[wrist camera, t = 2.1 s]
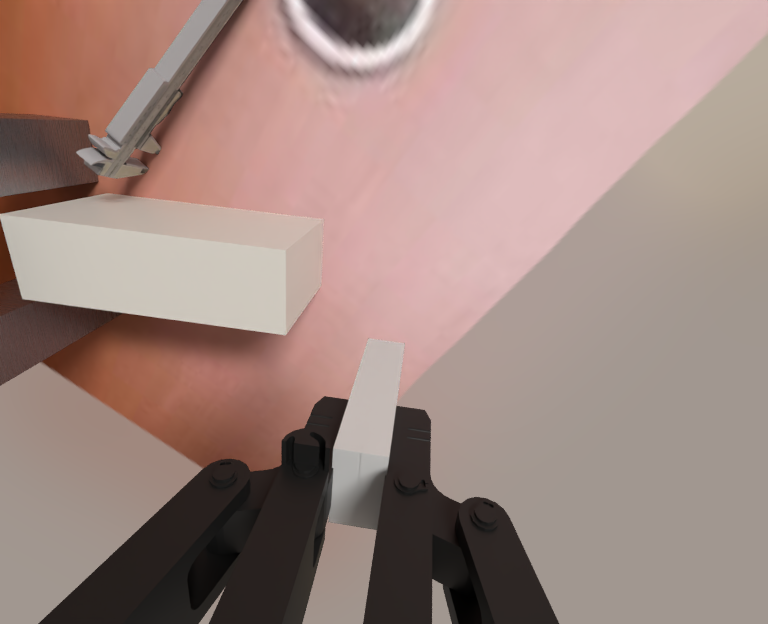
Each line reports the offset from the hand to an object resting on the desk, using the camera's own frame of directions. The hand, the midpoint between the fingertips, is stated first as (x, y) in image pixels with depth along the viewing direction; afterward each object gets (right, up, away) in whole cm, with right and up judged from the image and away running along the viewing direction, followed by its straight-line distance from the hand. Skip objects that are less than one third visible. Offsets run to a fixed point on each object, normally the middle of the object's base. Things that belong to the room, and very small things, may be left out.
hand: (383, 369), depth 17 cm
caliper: (-10, +19, +9) cm, 24 cm away
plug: (-12, +8, +14) cm, 20 cm away
